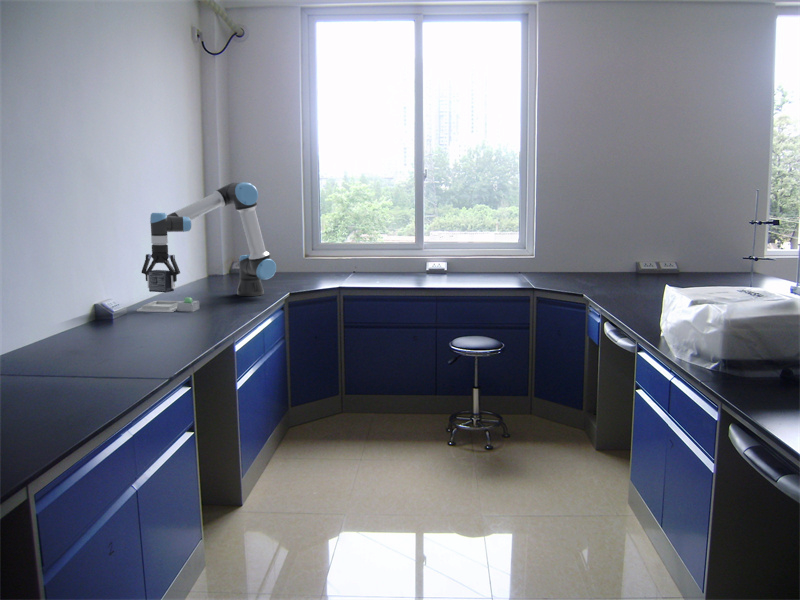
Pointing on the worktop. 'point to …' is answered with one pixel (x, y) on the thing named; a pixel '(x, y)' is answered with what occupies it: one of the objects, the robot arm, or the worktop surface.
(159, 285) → the small box
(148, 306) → the plate
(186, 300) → the button
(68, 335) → the worktop surface
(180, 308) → the console
